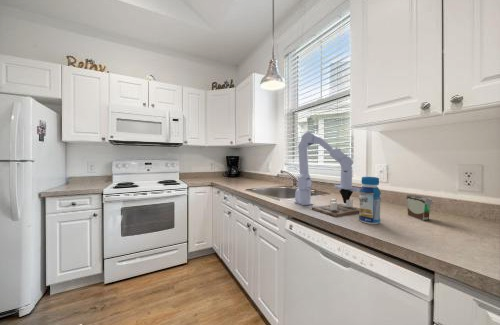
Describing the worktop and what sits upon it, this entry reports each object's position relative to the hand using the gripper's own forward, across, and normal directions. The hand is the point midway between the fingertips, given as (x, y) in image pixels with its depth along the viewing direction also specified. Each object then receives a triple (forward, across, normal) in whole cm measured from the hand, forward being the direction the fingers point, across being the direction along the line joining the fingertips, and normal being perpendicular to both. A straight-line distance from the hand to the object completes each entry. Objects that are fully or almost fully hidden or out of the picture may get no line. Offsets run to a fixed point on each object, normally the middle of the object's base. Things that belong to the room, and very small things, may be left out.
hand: (345, 203), depth 114 cm
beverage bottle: (+4, +20, -10) cm, 23 cm away
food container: (+4, +27, +18) cm, 33 cm away
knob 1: (+1, -3, -6) cm, 7 cm away
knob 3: (+1, +2, 0) cm, 3 cm away
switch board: (+3, 0, -6) cm, 7 cm away
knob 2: (+1, +3, -13) cm, 13 cm away
